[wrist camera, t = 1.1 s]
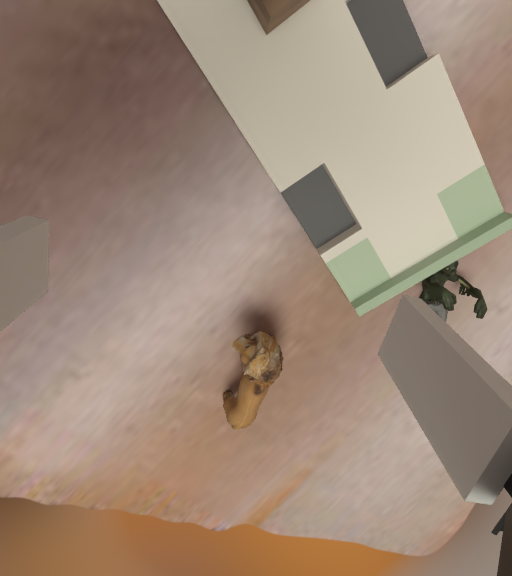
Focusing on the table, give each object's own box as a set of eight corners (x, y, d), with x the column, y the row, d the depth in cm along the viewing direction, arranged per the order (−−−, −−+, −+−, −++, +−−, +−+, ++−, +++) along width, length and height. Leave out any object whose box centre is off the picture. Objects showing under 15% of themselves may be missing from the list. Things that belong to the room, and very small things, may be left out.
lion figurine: (235, 302, 41) (233, 346, 32) (284, 309, 41) (293, 354, 33) (219, 409, 46) (213, 471, 38) (262, 414, 47) (265, 476, 38)
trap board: (155, -3, 30) (140, -25, 26) (329, -156, 27) (344, -208, 23) (347, 297, 41) (359, 316, 37) (488, 213, 37) (518, 224, 33)
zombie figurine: (415, 405, 38) (446, 266, 33) (393, 367, 45) (416, 245, 39) (468, 406, 38) (508, 267, 33) (438, 368, 45) (467, 246, 39)
